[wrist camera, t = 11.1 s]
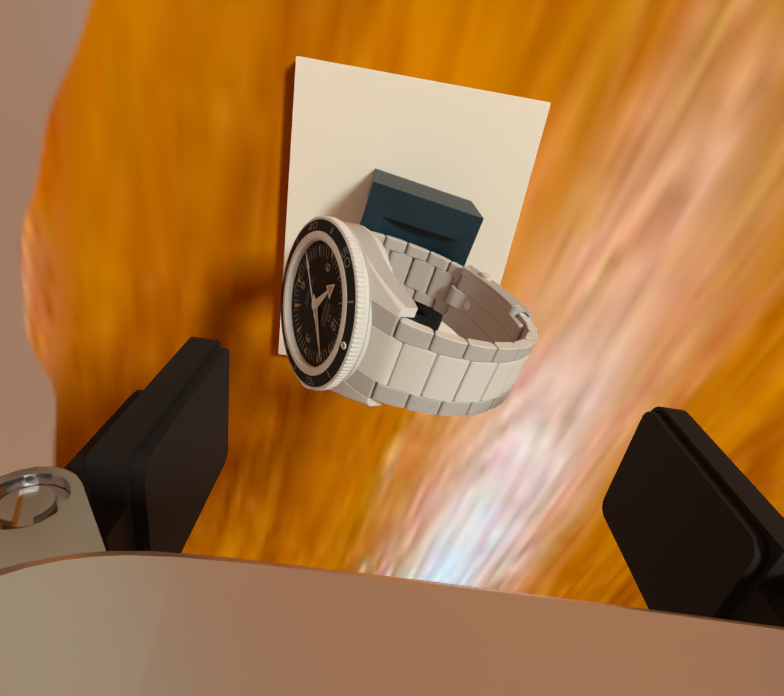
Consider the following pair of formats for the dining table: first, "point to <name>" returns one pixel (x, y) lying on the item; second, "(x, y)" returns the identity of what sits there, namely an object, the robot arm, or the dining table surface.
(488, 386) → the watch
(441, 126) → the pad
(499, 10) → the dining table surface
